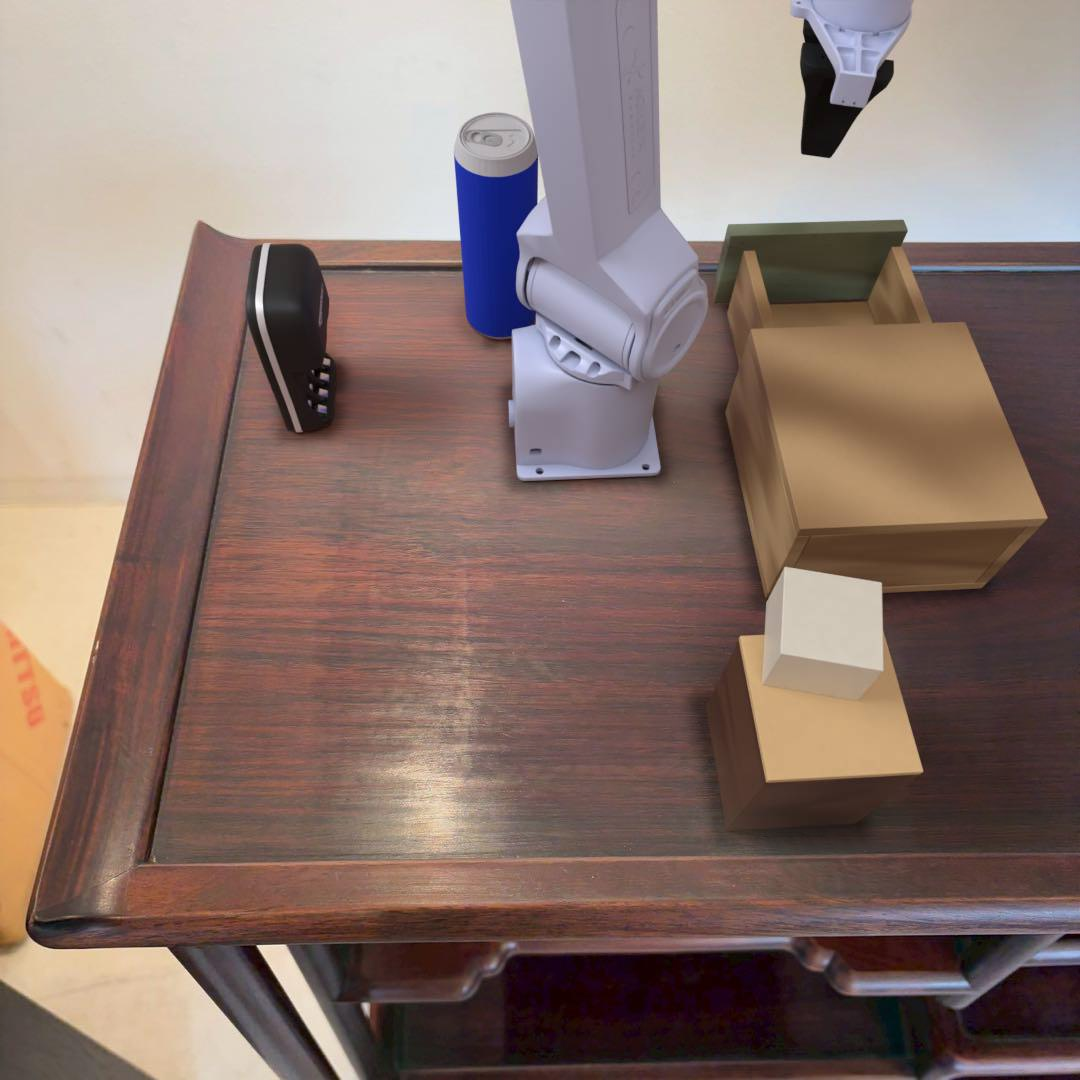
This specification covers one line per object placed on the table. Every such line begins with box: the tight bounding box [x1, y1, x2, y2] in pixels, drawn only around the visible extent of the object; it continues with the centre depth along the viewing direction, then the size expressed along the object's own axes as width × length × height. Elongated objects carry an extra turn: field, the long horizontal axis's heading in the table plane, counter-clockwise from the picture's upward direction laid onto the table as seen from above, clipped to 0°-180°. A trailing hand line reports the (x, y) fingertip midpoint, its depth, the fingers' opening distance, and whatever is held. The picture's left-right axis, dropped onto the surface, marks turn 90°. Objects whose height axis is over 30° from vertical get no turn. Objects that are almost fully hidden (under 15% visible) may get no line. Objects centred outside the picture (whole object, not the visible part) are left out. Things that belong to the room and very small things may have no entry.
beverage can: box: [453, 111, 539, 340], centre depth 60 cm, size 5×5×15 cm
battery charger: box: [245, 242, 337, 433], centre depth 57 cm, size 7×4×11 cm, turn 4°
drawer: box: [711, 219, 933, 367], centre depth 61 cm, size 15×12×6 cm
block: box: [762, 567, 884, 701], centre depth 41 cm, size 4×4×4 cm
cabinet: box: [724, 321, 1049, 599], centre depth 55 cm, size 15×14×8 cm
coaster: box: [738, 630, 924, 783], centre depth 41 cm, size 7×7×1 cm
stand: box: [705, 639, 921, 832], centre depth 45 cm, size 7×7×9 cm
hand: (816, 143), depth 61 cm, fingers closed
